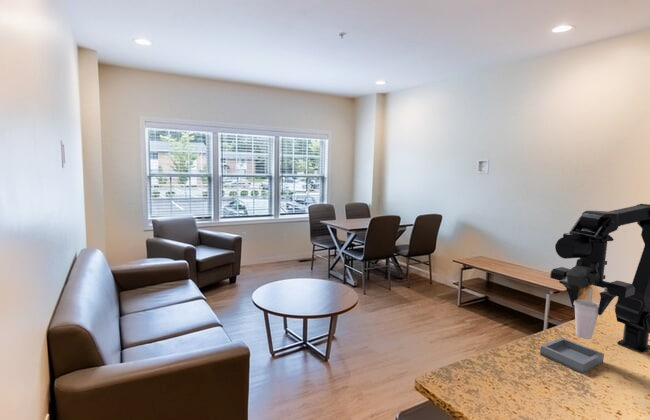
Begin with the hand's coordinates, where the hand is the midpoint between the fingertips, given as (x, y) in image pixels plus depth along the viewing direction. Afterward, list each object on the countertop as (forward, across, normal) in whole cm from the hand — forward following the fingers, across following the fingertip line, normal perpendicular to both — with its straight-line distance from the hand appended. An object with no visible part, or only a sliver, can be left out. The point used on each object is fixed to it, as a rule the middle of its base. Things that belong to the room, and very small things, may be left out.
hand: (586, 310), depth 103 cm
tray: (+13, 0, -5) cm, 14 cm away
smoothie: (+8, 0, 0) cm, 8 cm away
